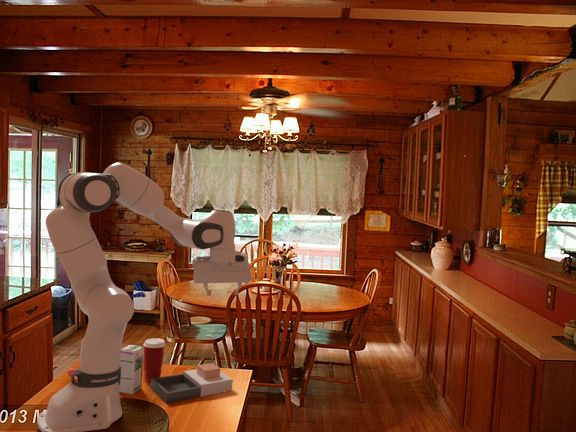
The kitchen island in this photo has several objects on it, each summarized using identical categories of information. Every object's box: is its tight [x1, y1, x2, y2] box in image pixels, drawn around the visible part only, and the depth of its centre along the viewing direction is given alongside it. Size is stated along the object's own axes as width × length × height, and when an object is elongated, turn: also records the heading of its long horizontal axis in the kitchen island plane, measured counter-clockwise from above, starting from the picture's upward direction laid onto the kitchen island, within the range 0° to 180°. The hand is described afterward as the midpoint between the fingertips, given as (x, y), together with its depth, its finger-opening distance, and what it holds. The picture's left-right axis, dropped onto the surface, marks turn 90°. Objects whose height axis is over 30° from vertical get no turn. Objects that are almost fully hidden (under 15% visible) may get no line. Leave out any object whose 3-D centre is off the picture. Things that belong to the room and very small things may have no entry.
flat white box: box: [183, 368, 234, 398], centre depth 166 cm, size 12×14×4 cm
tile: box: [196, 362, 221, 379], centre depth 165 cm, size 6×6×3 cm
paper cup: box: [142, 337, 166, 384], centre depth 168 cm, size 8×8×14 cm
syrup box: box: [119, 344, 144, 395], centre depth 157 cm, size 6×6×14 cm
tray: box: [150, 373, 201, 404], centre depth 158 cm, size 12×14×3 cm
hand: (222, 295), depth 164 cm, fingers open, 8 cm apart
